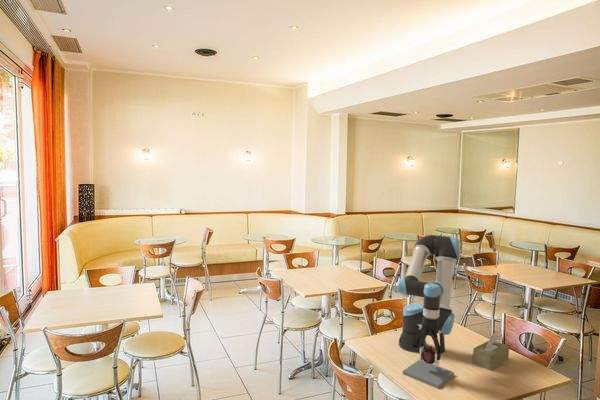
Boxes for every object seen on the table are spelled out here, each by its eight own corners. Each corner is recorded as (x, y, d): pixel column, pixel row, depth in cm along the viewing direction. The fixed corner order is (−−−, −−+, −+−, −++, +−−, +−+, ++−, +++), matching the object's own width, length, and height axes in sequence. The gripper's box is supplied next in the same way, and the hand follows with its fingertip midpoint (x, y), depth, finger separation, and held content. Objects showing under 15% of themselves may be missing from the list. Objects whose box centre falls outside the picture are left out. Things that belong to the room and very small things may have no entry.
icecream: (440, 358, 184) (438, 347, 199) (423, 351, 187) (423, 341, 201) (435, 372, 185) (434, 360, 199) (419, 365, 187) (419, 354, 201)
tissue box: (490, 371, 198) (492, 340, 197) (472, 363, 206) (473, 333, 204) (508, 360, 209) (510, 331, 208) (490, 353, 217) (492, 325, 216)
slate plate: (402, 373, 193) (402, 370, 193) (419, 362, 206) (419, 359, 205) (438, 388, 181) (438, 385, 181) (454, 375, 193) (454, 372, 193)
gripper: (408, 312, 195) (406, 358, 197) (447, 324, 181) (445, 373, 183) (415, 309, 201) (413, 353, 202) (454, 320, 187) (452, 367, 188)
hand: (428, 362), depth 193 cm, fingers closed on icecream, 7 cm apart
